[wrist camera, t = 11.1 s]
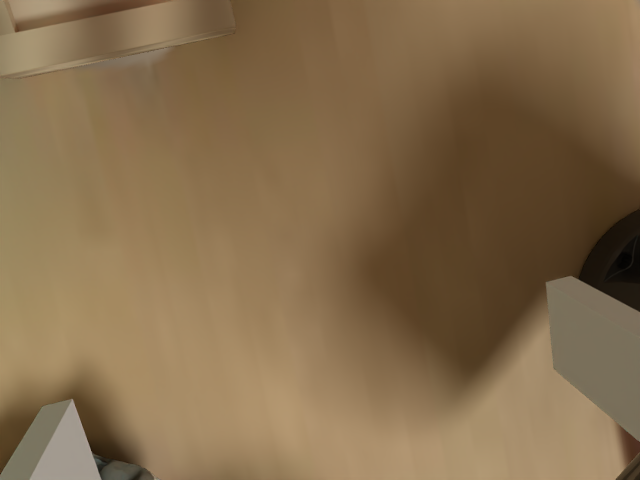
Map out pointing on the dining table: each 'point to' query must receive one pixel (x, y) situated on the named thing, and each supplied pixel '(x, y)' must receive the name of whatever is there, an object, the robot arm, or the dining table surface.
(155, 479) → the grey sculpted piece
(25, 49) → the tray
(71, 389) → the dining table surface
